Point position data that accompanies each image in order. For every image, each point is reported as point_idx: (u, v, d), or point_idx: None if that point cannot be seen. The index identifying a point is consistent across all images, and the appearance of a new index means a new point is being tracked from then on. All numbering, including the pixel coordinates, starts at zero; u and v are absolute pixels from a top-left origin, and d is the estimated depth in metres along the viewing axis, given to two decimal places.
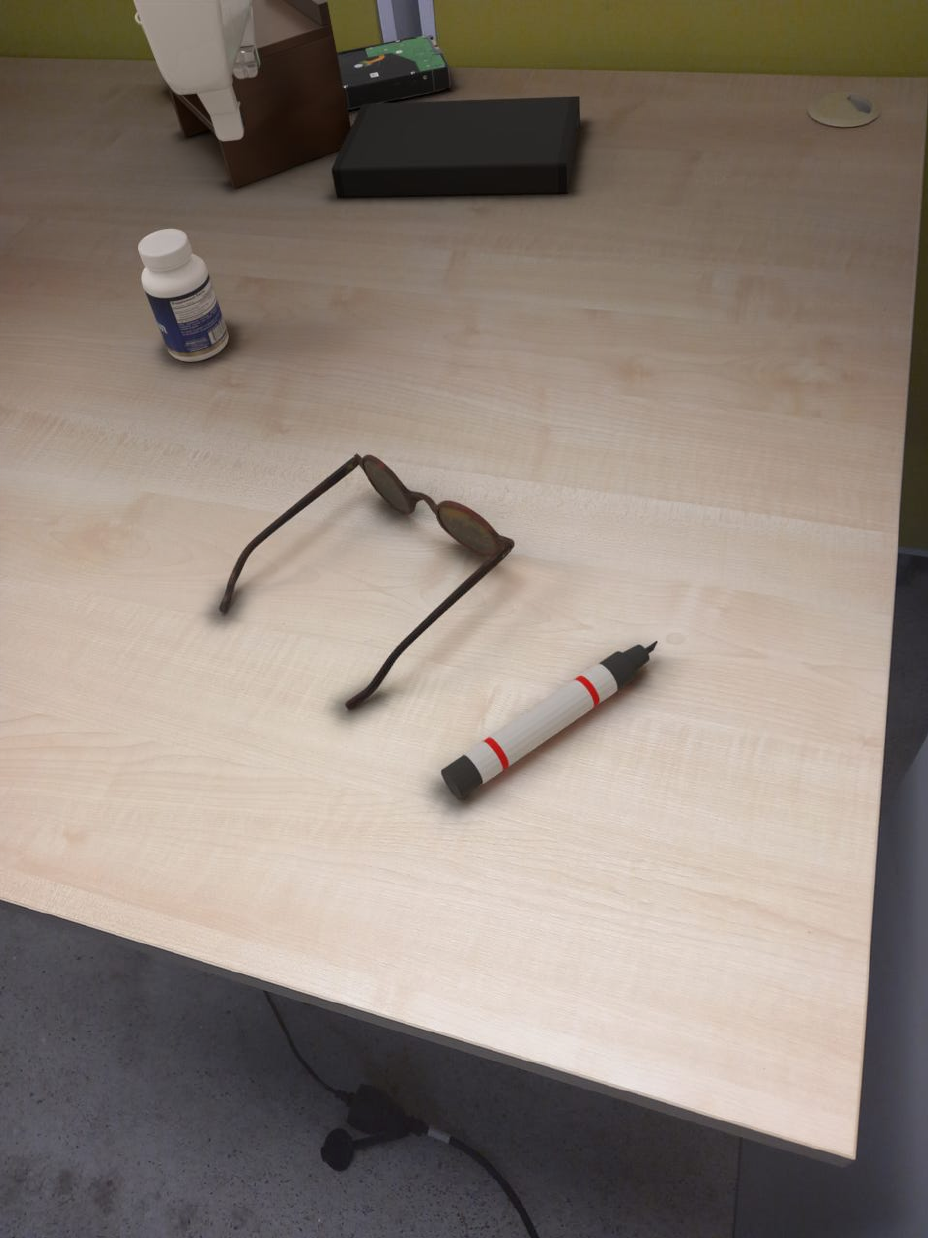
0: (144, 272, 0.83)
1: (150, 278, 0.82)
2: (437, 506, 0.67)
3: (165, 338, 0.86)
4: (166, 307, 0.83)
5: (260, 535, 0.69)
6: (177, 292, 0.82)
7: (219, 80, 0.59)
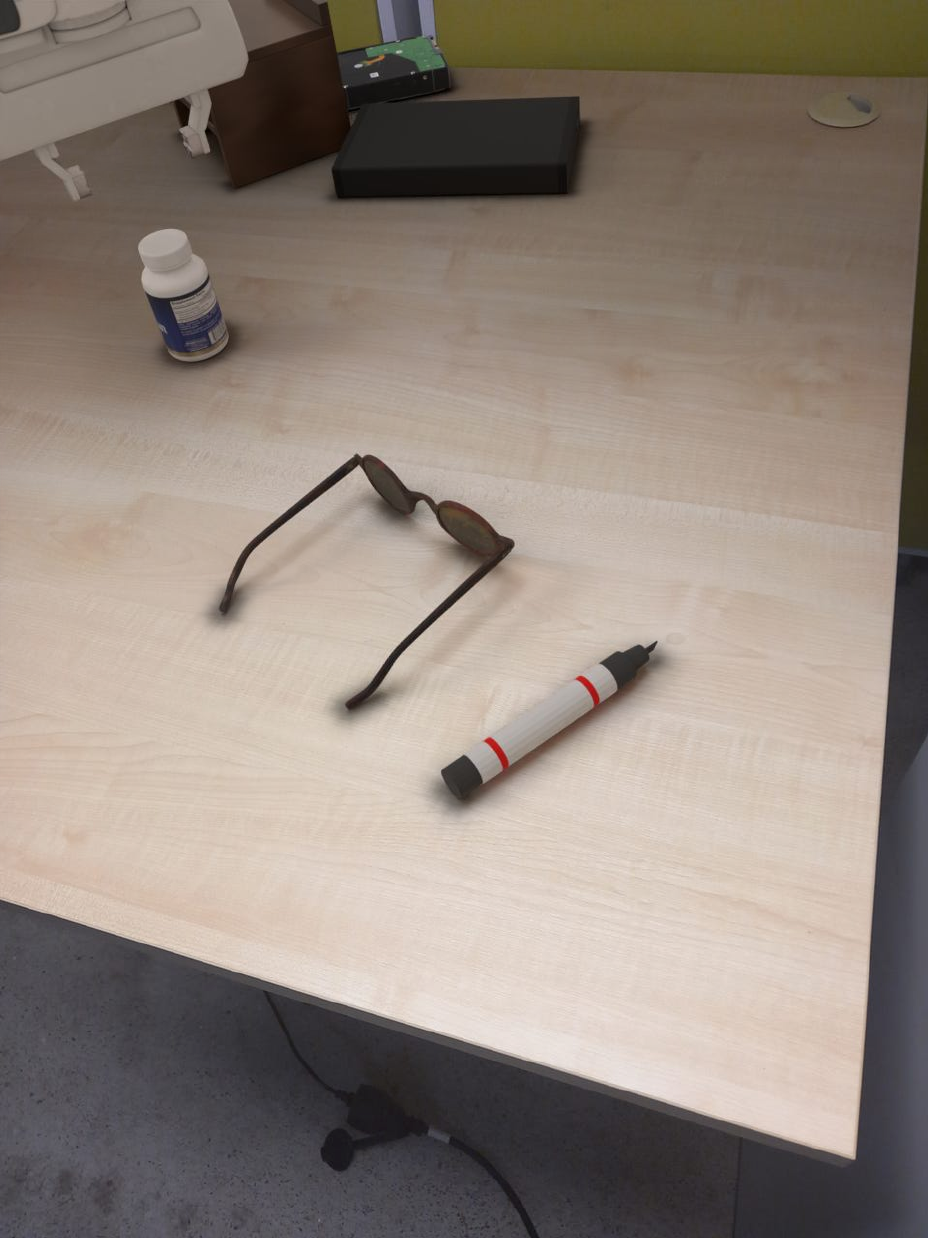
0: (144, 272, 0.83)
1: (150, 278, 0.82)
2: (437, 506, 0.67)
3: (165, 338, 0.86)
4: (166, 307, 0.83)
5: (260, 535, 0.69)
6: (177, 292, 0.82)
7: None
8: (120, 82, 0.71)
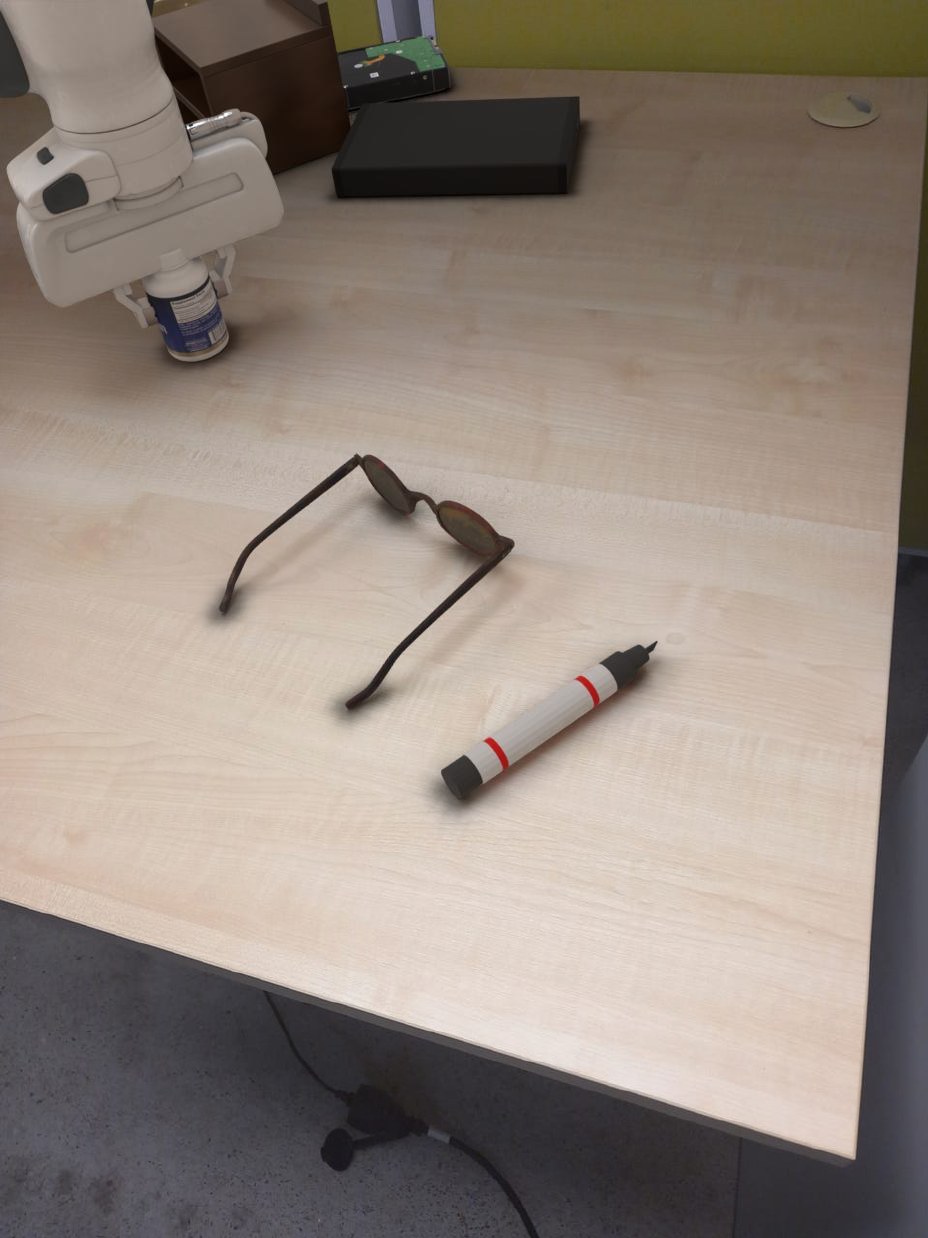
0: None
1: (150, 278, 0.82)
2: (437, 506, 0.67)
3: (165, 338, 0.86)
4: (167, 307, 0.83)
5: (260, 535, 0.69)
6: (177, 293, 0.82)
7: (49, 301, 0.78)
8: (172, 237, 0.80)
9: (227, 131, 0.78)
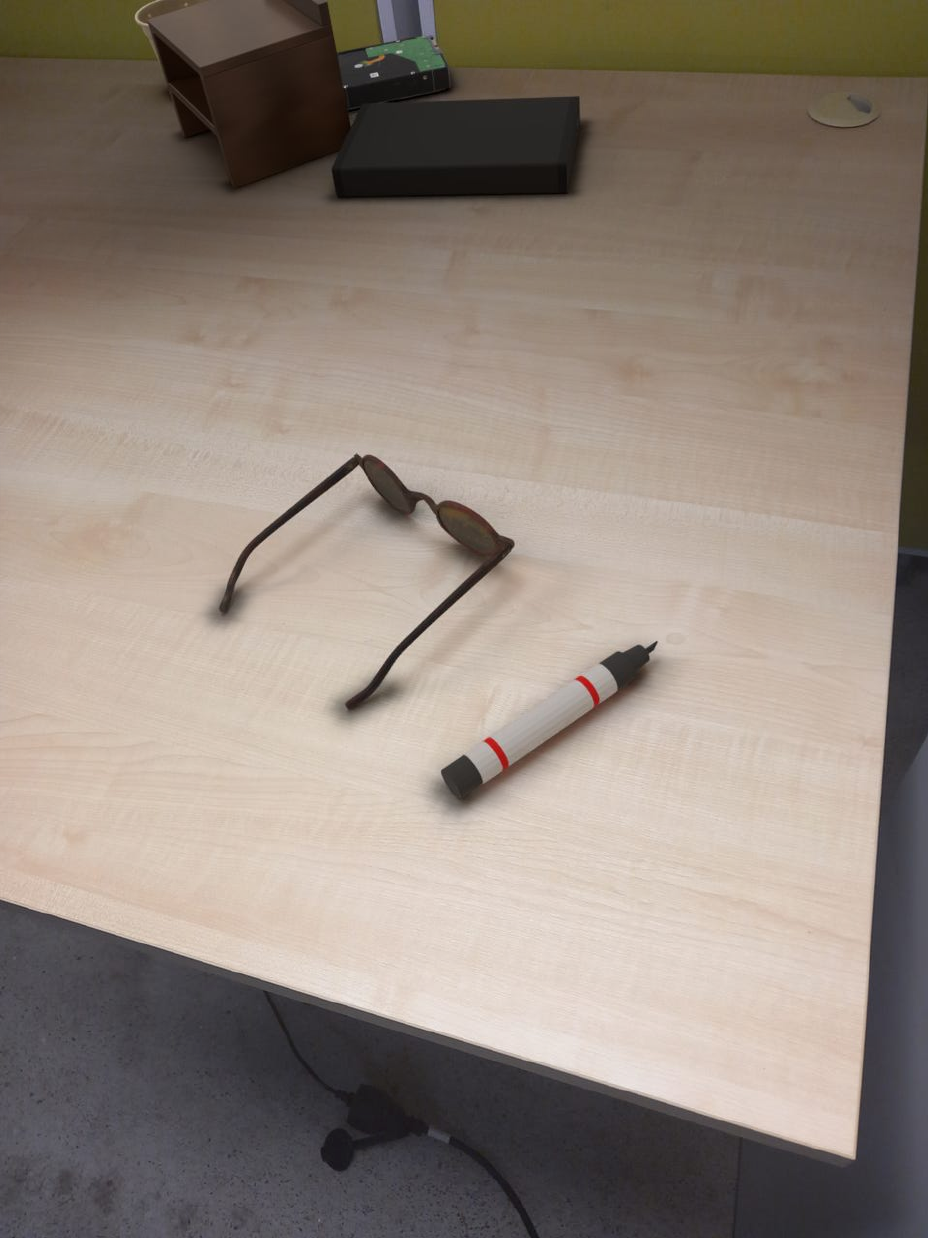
0: None
1: None
2: (437, 506, 0.67)
3: None
4: None
5: (260, 535, 0.69)
6: None
7: None
8: None
9: None
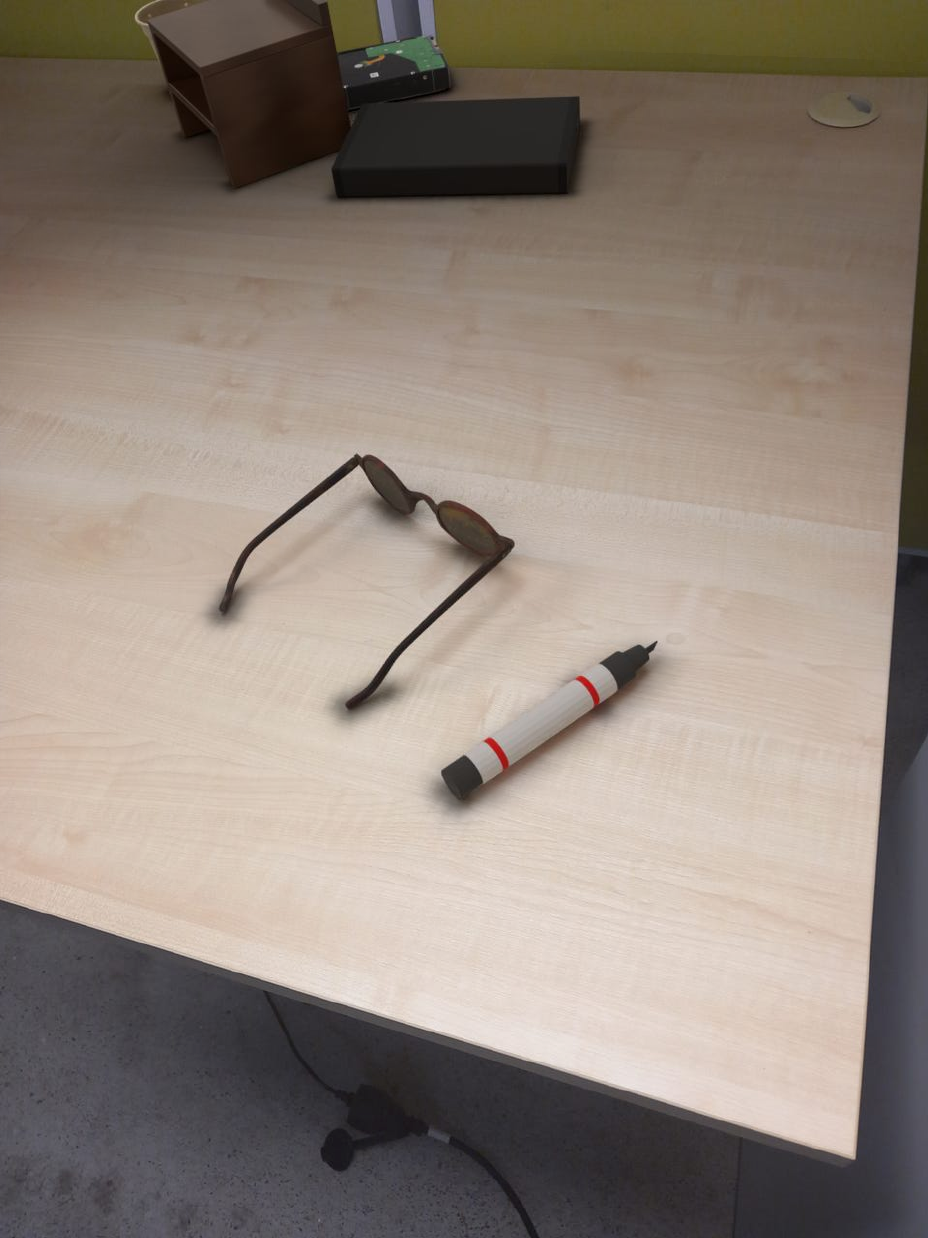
0: None
1: None
2: (437, 506, 0.67)
3: None
4: None
5: (260, 534, 0.69)
6: None
7: None
8: None
9: None
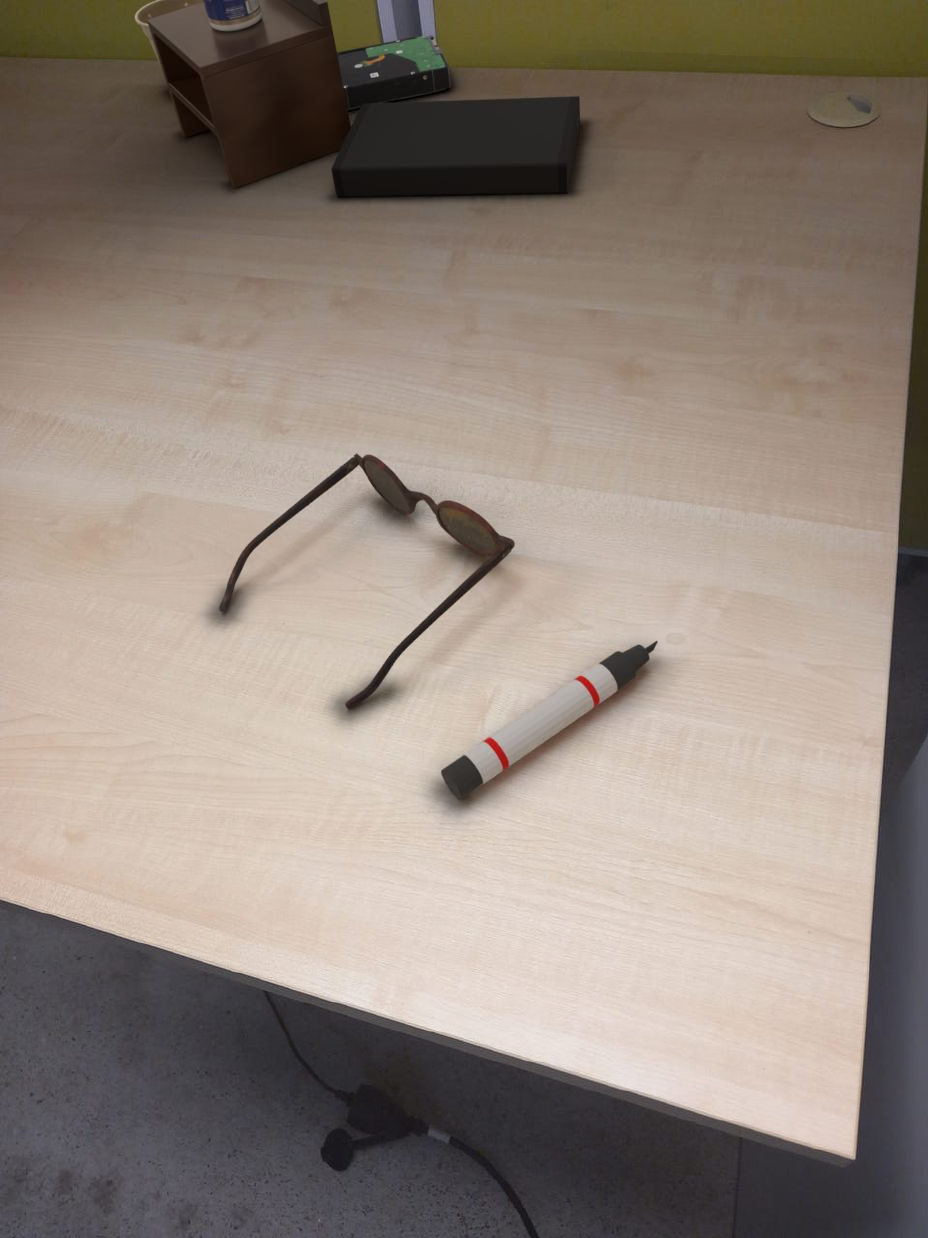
0: None
1: None
2: (437, 506, 0.67)
3: (208, 7, 1.01)
4: None
5: (260, 535, 0.69)
6: None
7: None
8: None
9: None
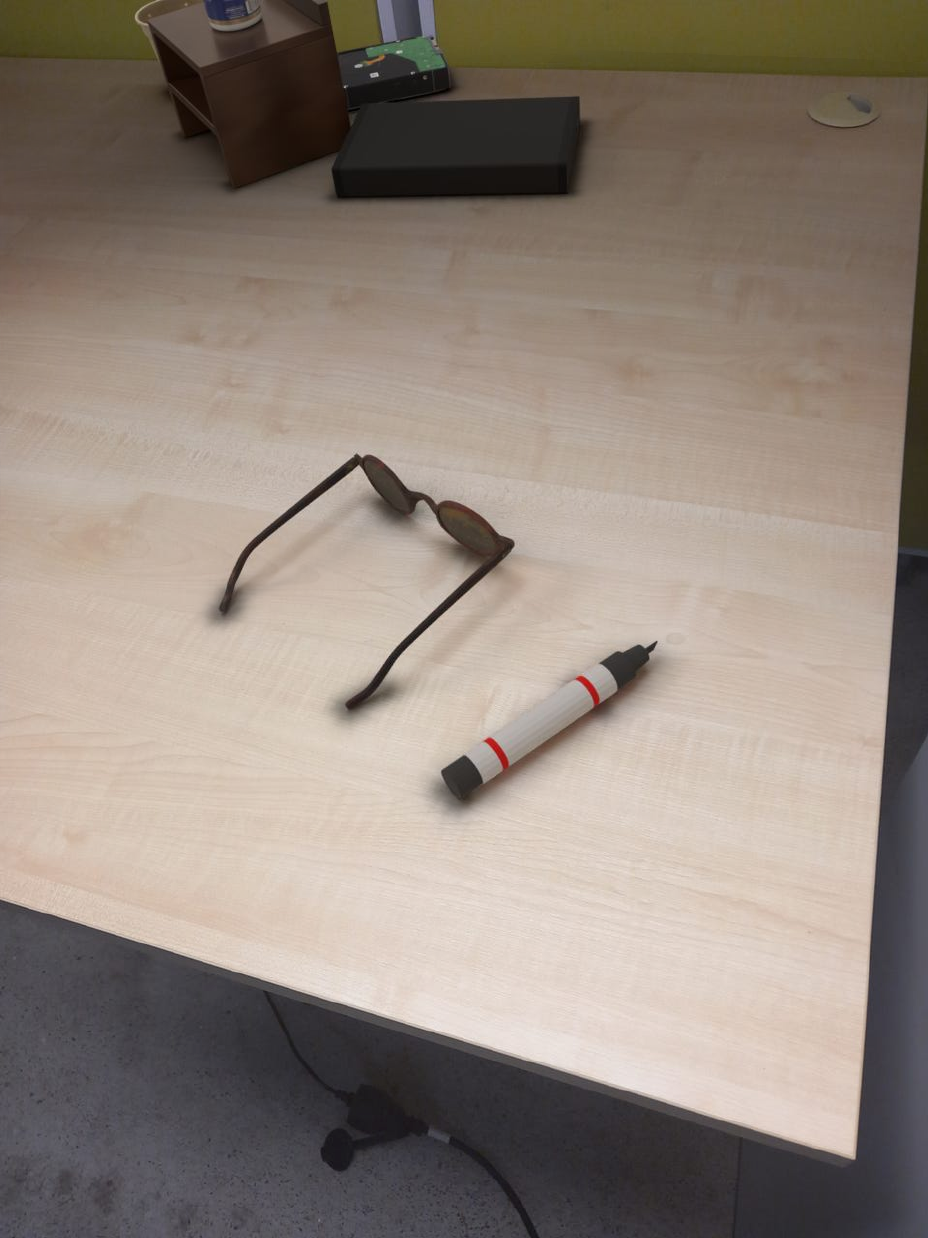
0: None
1: None
2: (437, 506, 0.67)
3: (208, 7, 1.01)
4: None
5: (260, 535, 0.69)
6: None
7: None
8: None
9: None
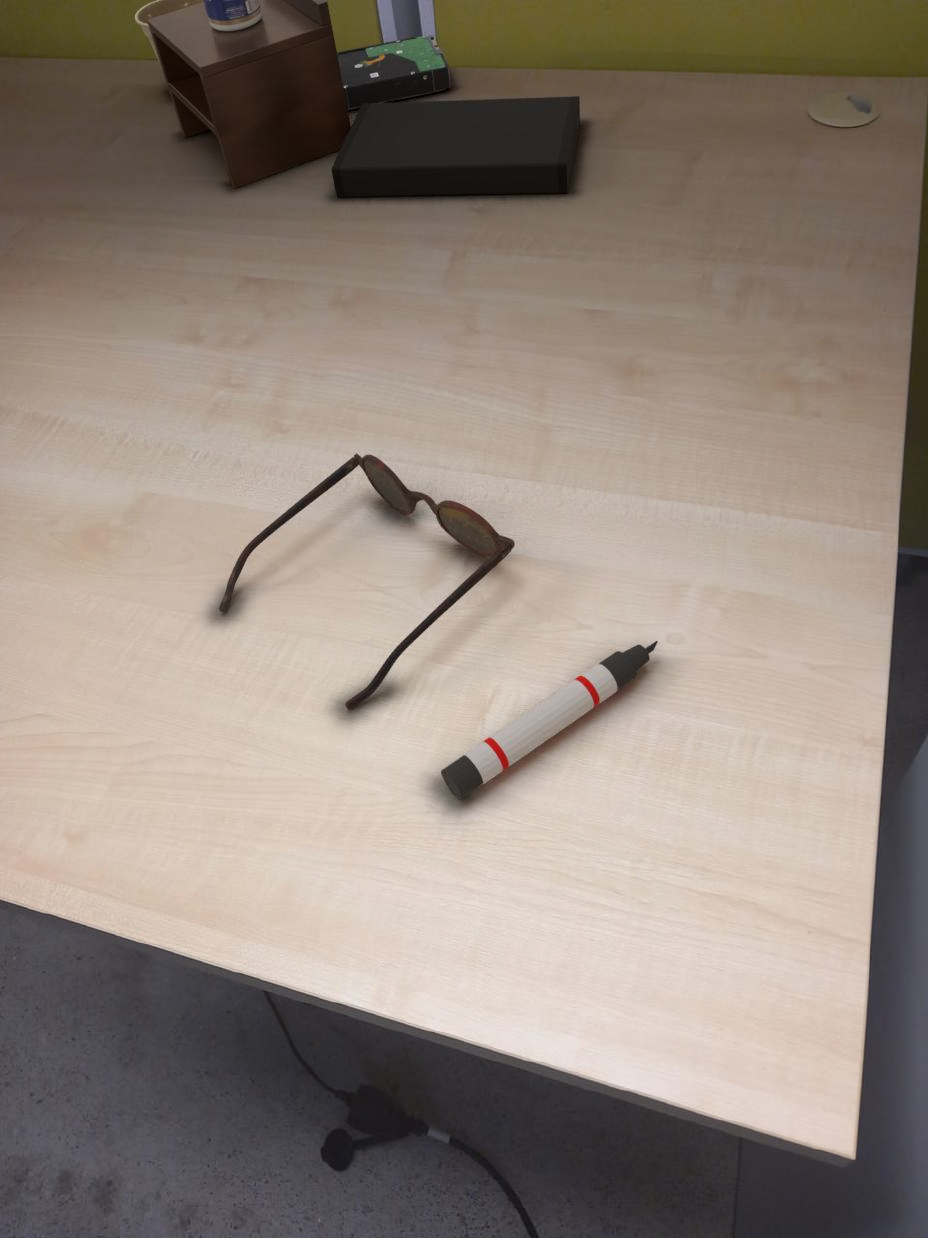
0: None
1: None
2: (437, 506, 0.67)
3: (208, 7, 1.01)
4: None
5: (260, 534, 0.69)
6: None
7: None
8: None
9: None
